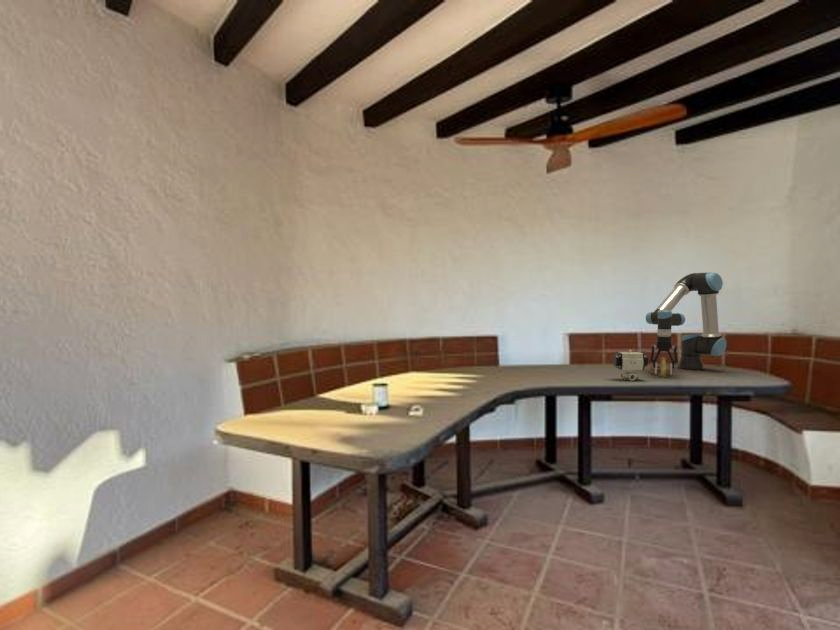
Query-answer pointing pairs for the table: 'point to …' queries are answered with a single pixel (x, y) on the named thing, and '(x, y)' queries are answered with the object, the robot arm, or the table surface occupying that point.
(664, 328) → the robot arm
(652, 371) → the hole block
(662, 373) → the brass peg
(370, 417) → the table surface
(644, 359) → the ball valve
